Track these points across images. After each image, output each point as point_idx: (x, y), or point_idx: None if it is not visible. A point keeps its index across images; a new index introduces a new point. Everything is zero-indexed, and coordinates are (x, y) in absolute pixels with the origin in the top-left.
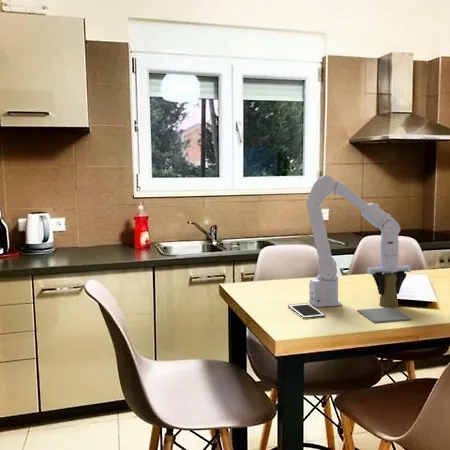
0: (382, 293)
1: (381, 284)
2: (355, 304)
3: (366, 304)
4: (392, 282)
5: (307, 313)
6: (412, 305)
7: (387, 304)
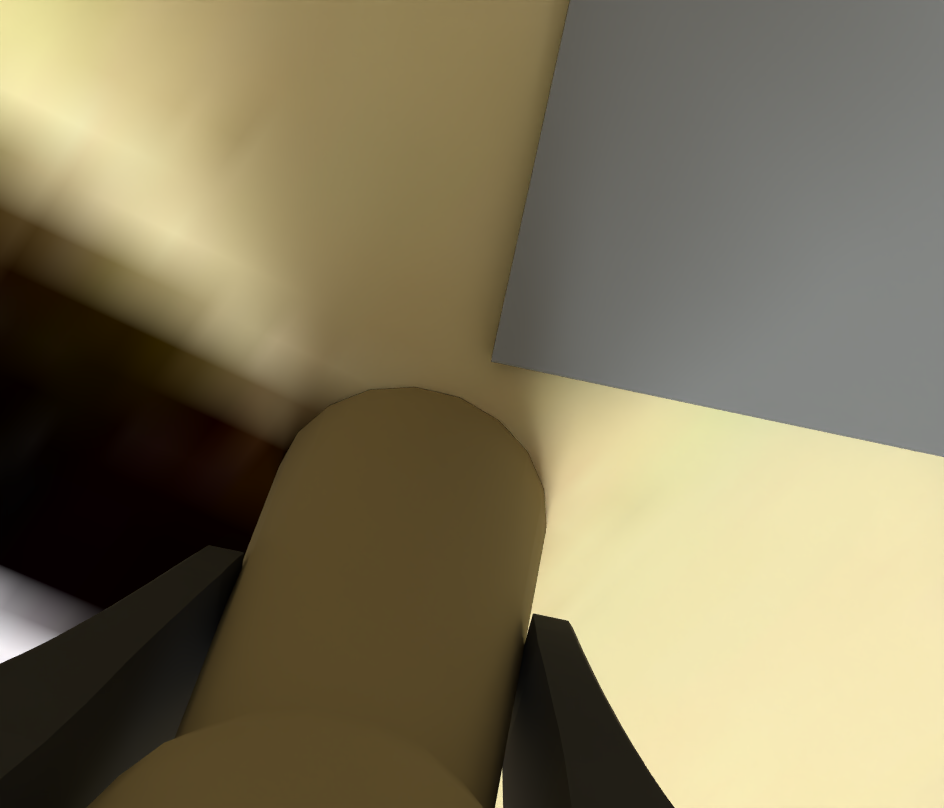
0: (562, 632)
1: (644, 797)
2: (805, 727)
3: (672, 667)
4: (327, 732)
5: None
6: (85, 351)
7: (505, 456)
